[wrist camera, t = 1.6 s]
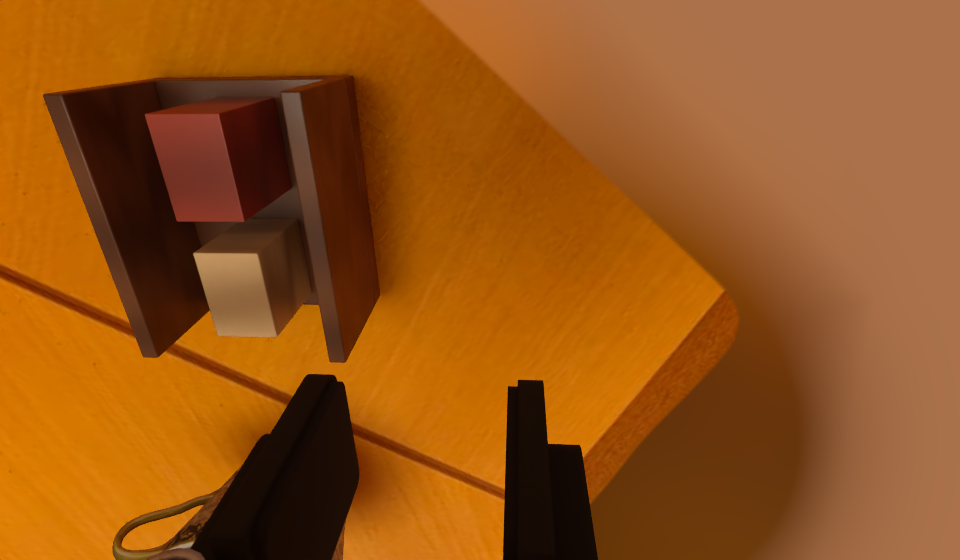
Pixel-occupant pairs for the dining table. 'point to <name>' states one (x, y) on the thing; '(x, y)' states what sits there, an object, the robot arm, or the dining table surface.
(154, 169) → the open wooden box
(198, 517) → the ceramic cup
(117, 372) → the dining table surface
